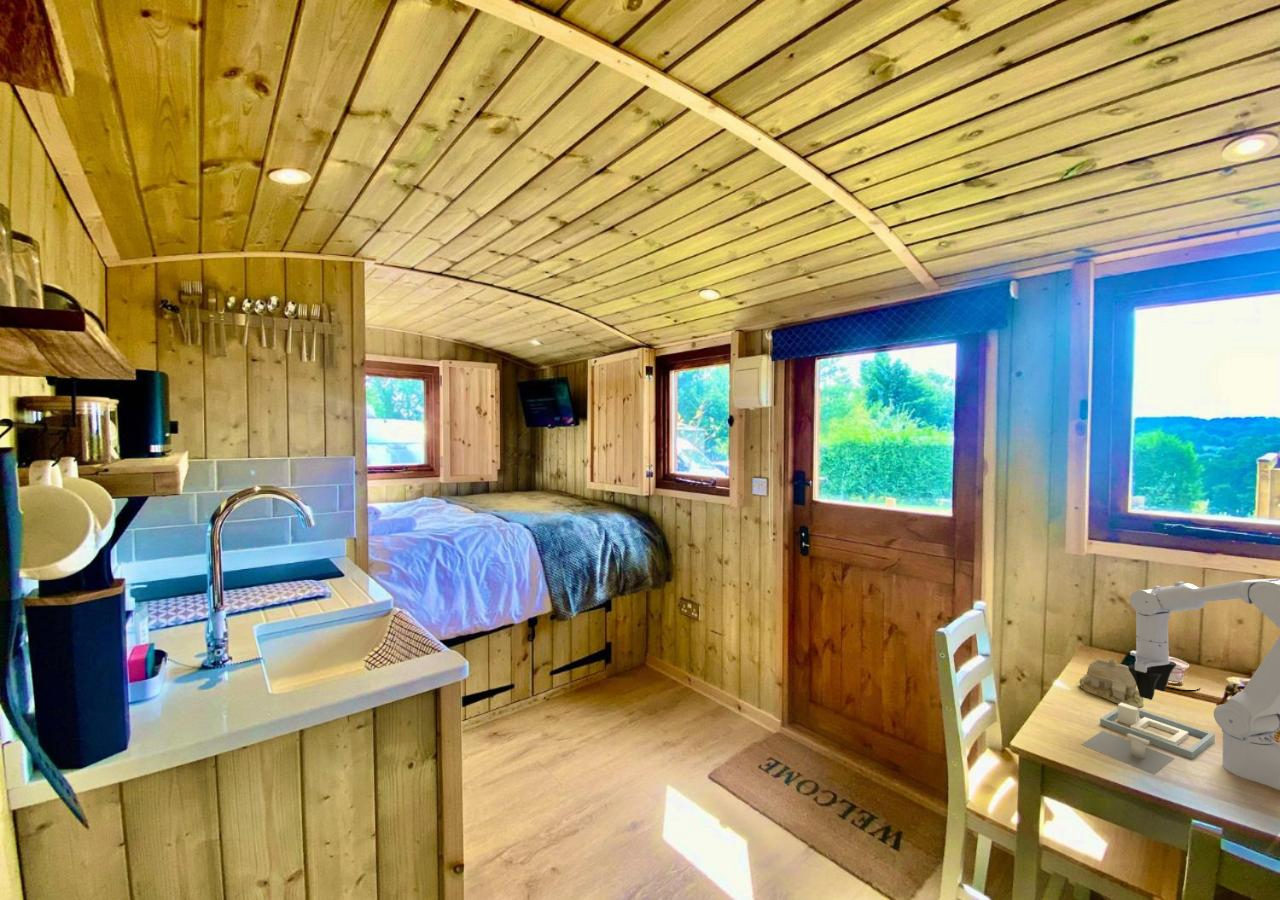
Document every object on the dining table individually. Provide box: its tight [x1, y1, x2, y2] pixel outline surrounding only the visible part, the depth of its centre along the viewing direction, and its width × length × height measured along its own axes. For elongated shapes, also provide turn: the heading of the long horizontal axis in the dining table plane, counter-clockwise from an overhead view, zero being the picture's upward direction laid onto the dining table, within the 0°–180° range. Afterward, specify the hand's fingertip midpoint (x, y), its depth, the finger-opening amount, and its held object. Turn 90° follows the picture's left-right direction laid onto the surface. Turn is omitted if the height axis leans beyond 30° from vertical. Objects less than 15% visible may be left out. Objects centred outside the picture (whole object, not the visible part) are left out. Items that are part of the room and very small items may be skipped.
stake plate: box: [1080, 730, 1175, 775], centre depth 123 cm, size 13×11×5 cm
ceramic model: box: [1079, 658, 1144, 708], centre depth 150 cm, size 14×11×10 cm
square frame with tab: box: [1117, 702, 1190, 746], centre depth 131 cm, size 12×8×4 cm
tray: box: [1099, 707, 1216, 760], centre depth 130 cm, size 17×14×2 cm
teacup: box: [1168, 656, 1190, 683], centre depth 157 cm, size 12×12×6 cm
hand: (1152, 693), depth 132 cm, fingers open, 7 cm apart
